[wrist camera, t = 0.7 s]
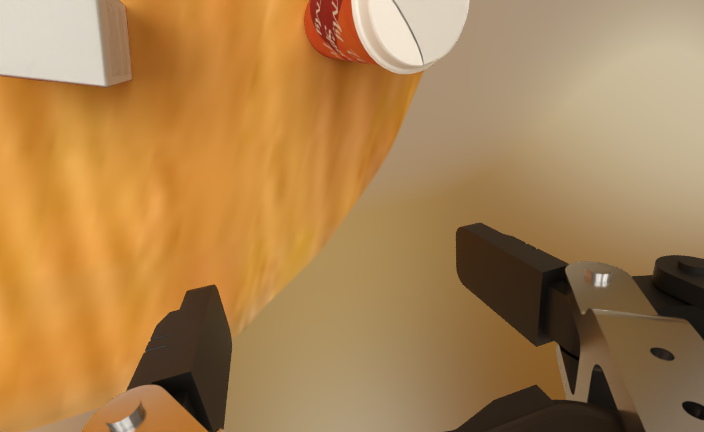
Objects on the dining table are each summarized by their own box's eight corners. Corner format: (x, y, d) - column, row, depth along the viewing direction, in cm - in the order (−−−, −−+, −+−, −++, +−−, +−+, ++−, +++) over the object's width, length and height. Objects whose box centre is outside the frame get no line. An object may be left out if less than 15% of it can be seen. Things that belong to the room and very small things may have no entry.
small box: (4, 65, 24) (-101, 67, 15) (-15, -25, 22) (-149, -83, 13) (134, 81, 28) (109, 90, 19) (128, 4, 26) (95, -26, 17)
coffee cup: (276, 35, 30) (335, 16, 18) (320, -51, 29) (416, -135, 17) (345, 87, 35) (431, 101, 23) (386, 15, 34) (500, -13, 21)
